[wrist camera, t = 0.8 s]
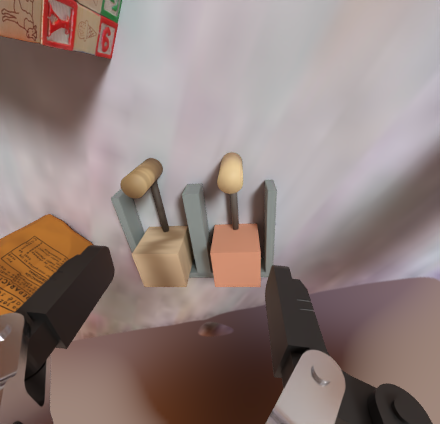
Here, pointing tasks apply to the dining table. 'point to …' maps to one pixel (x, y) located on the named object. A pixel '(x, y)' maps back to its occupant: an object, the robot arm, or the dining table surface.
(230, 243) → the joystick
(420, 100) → the dining table surface
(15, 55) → the dining table surface
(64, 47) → the stack of blocks
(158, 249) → the birch block
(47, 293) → the robot arm
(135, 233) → the shelf rack
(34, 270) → the coffee package
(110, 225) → the dining table surface
